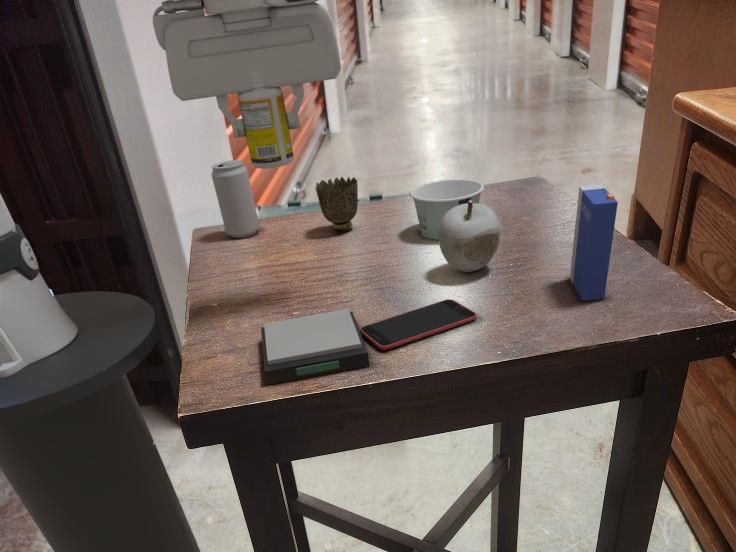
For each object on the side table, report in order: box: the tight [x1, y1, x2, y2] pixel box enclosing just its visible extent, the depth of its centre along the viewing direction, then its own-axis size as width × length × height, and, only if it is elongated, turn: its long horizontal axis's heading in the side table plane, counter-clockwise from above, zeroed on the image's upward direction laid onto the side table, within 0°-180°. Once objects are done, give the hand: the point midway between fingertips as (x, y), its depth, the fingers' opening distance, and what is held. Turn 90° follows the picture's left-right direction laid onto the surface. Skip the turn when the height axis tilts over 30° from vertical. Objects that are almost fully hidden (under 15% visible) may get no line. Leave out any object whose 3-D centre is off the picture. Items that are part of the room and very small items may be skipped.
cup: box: [314, 176, 359, 233], centre depth 108 cm, size 8×7×8 cm
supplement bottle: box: [237, 71, 294, 170], centre depth 76 cm, size 6×6×10 cm
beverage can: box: [211, 159, 260, 239], centre depth 112 cm, size 6×6×12 cm
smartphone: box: [359, 298, 478, 351], centre depth 77 cm, size 7×1×14 cm
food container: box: [410, 178, 485, 241], centre depth 102 cm, size 12×12×6 cm
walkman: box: [569, 184, 619, 302], centre depth 77 cm, size 8×3×12 cm, turn 178°
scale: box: [260, 308, 371, 386], centre depth 75 cm, size 12×12×2 cm
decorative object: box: [438, 200, 502, 273], centre depth 87 cm, size 9×9×10 cm
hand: (267, 132), depth 77 cm, fingers closed on supplement bottle, 5 cm apart
